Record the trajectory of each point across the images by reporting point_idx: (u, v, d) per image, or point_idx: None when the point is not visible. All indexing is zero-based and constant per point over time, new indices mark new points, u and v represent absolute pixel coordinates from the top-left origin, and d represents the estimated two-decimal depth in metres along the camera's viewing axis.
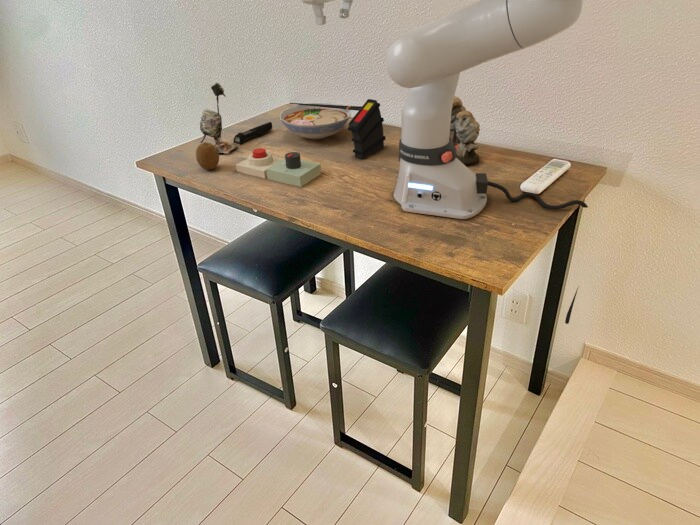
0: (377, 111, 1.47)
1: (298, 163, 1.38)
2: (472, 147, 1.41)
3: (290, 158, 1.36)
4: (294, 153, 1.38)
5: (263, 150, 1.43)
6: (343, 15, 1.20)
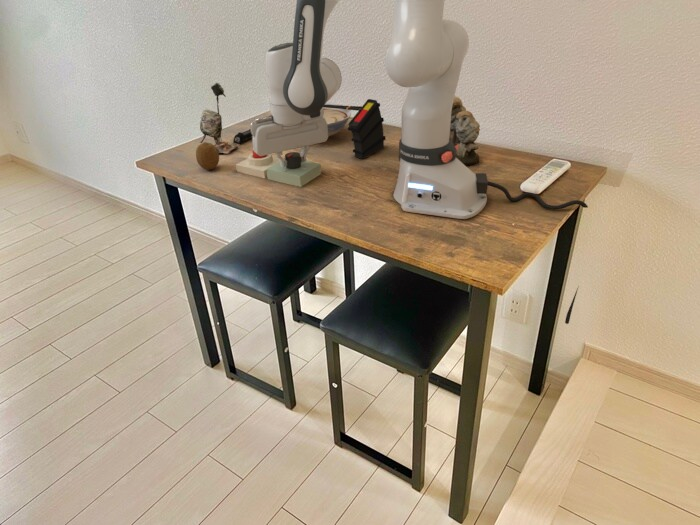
0: (377, 111, 1.47)
1: (298, 163, 1.38)
2: (472, 147, 1.41)
3: (290, 158, 1.36)
4: (294, 153, 1.38)
5: None
6: None
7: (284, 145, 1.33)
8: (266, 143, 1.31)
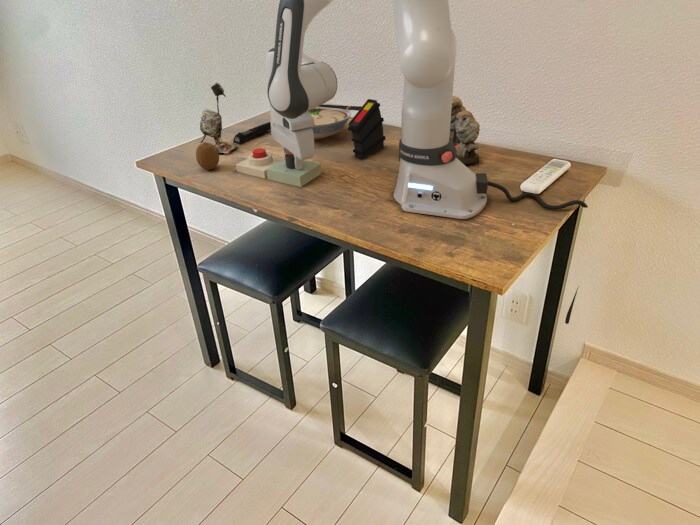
0: (377, 111, 1.47)
1: (287, 164, 1.37)
2: (472, 147, 1.41)
3: None
4: None
5: (263, 150, 1.43)
6: None
7: (281, 140, 1.37)
8: (274, 130, 1.40)
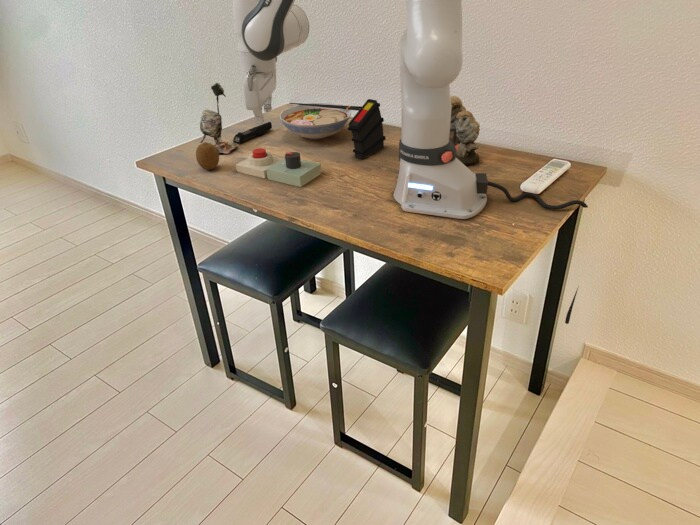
0: (377, 111, 1.47)
1: (288, 164, 1.37)
2: (472, 147, 1.41)
3: None
4: (295, 155, 1.37)
5: (263, 150, 1.43)
6: (268, 109, 1.39)
7: (266, 95, 1.31)
8: (261, 94, 1.26)
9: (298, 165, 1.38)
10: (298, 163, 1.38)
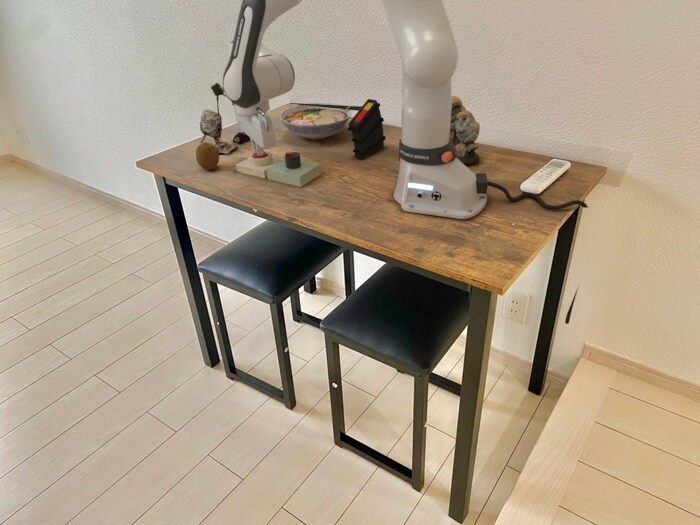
0: (377, 111, 1.47)
1: (288, 164, 1.37)
2: (472, 147, 1.41)
3: None
4: (295, 155, 1.37)
5: None
6: None
7: None
8: None
9: (298, 165, 1.38)
10: (298, 163, 1.38)
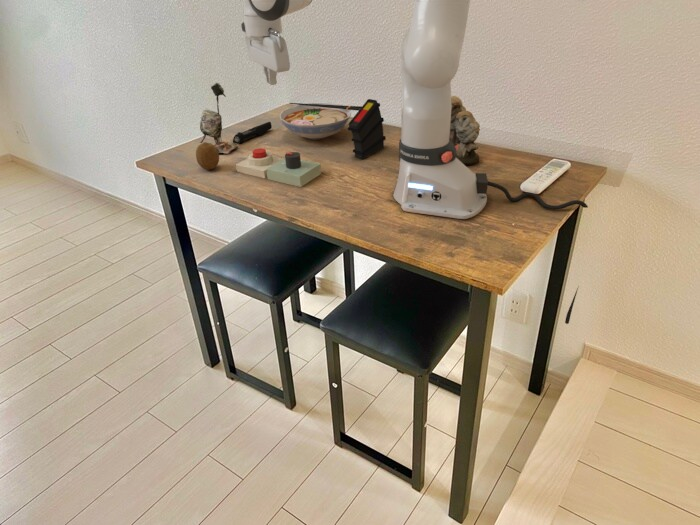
0: (377, 111, 1.47)
1: (288, 164, 1.37)
2: (472, 147, 1.41)
3: None
4: (295, 155, 1.37)
5: (263, 150, 1.43)
6: None
7: None
8: None
9: (298, 165, 1.38)
10: (298, 163, 1.38)
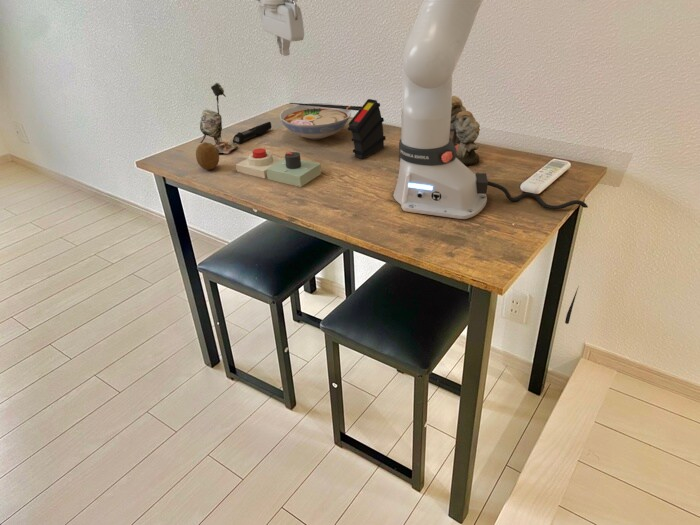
0: (377, 111, 1.47)
1: (288, 164, 1.37)
2: (472, 147, 1.41)
3: None
4: (295, 155, 1.37)
5: (263, 150, 1.43)
6: None
7: None
8: None
9: (298, 165, 1.38)
10: (298, 163, 1.38)
